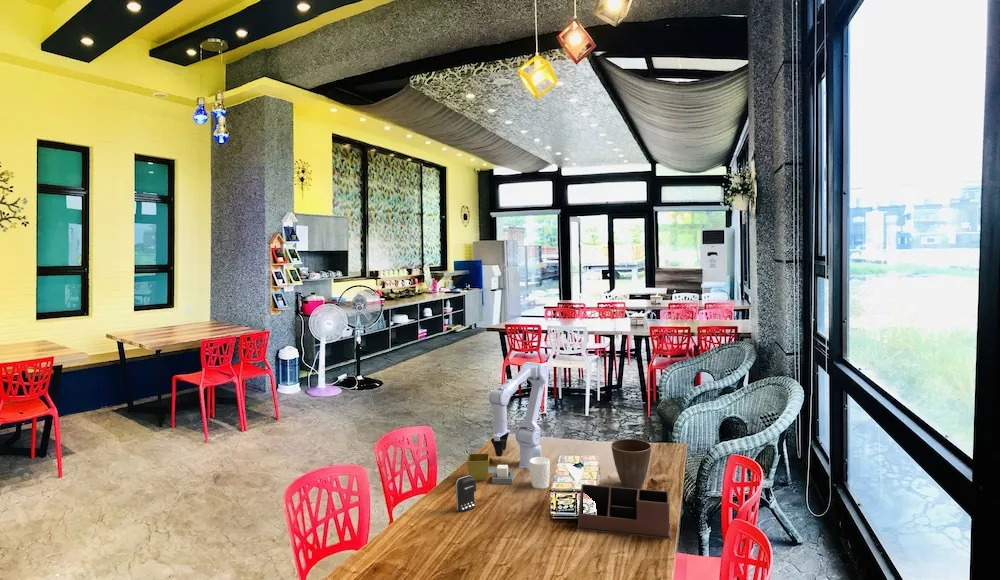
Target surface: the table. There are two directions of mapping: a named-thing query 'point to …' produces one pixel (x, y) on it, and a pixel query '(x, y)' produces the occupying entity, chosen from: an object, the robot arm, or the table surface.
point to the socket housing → (503, 480)
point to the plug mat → (493, 469)
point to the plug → (502, 471)
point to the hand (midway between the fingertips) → (501, 452)
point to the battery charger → (465, 493)
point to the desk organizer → (626, 511)
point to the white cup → (540, 472)
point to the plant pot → (631, 461)
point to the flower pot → (478, 466)
